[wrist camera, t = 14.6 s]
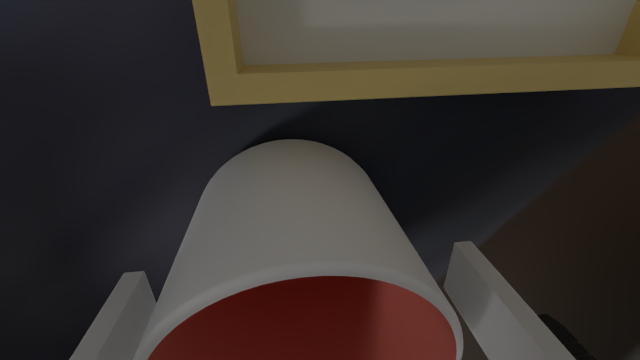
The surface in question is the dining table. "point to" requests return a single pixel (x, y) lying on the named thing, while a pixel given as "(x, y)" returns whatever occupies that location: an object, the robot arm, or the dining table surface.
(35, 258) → the dining table surface
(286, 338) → the cup
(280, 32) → the panel
